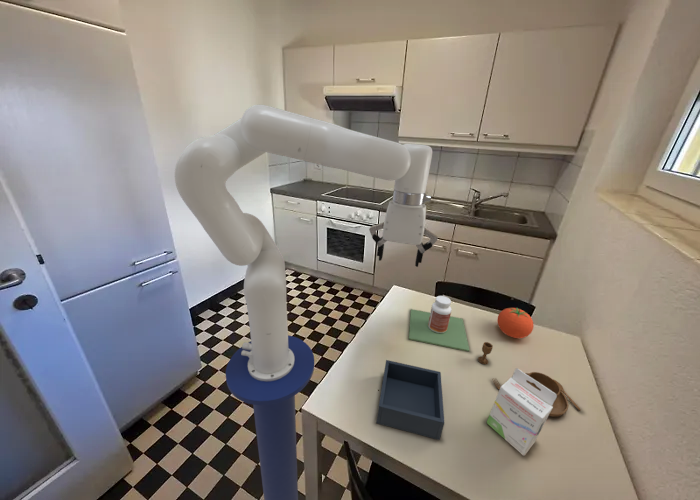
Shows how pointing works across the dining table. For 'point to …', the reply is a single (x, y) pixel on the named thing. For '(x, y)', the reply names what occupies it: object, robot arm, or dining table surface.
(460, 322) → the mat
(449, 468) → the dining table surface
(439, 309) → the pill bottle
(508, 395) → the ink box
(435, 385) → the blue open box
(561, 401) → the place setting
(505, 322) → the tomato
